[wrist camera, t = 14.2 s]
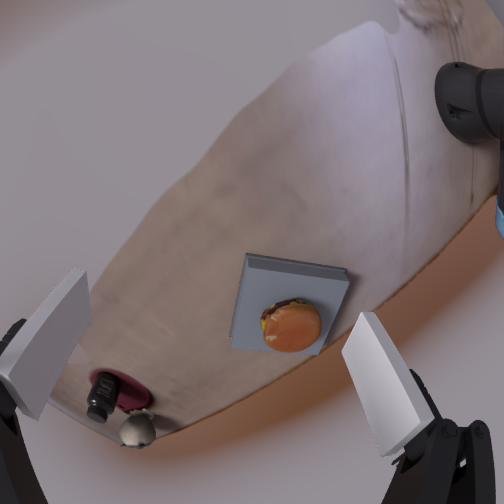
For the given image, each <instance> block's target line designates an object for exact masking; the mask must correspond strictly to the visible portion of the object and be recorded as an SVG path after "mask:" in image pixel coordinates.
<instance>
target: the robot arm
mask: <svg viewBox="0 0 504 504" xmlns="http://www.w3.org/2000/svg"><path fill="white" fill-rule="evenodd" d="M435 98H436V104H437V108H438V111H439V114H440V116H441V118H442V120H443V122H444V124H445V126H446V127H447V129H448V130H449V131H450V132H451V133H452V134H453V135H454V136H455V137H456V138H458V139H460V140H462V141H466V142H471V143H478V142H482V141H486V140H490V139H493V138H499V139H500V170H499V184H498V195H497V197H496V206H497V208H496V218H495V223H496V227H497V229H498V232H499V234H500V236H501V237H502V238H503V239H504V68H501V69H482V68H479V67H476V66H473V65H470V64H467V63H464V62H452V63H447V64H445V65H444V66H442V67H441V68H440V70H439V71H438V74H437V76H436V80H435ZM92 318H93V316H92V310H91V304H90V297H89V290H88V282H87V274H86V271H83V270H79V269H74V268H73V269H72V270H71V271H70V272H69V273H68V274H67V275H66V276H65V277H64V278H63V279H62V280H61V282H60V283H59V284H58V285H57V286H56V287H55V288H54V289H53V290H52V292H51V293H50V294H49V295H48V296H47V297H46V298H45V300H44V301H43V302H42V303H41V304H40V305H39V307H38V308H37V309H36V310H35V311H34V313H33V314H32V315H31V316H30V317H29V319H28V320H26V319H21V320H19V321H18V322H16V323H15V324H13V325H12V327H11V328H10V329H9V331H8V332H7V334H5V336H4V337H3V338H2V341H0V504H48V502H47V500H46V498H45V496H44V493H43V491H42V489H41V487H40V485H39V482H38V480H37V477H36V475H35V472H34V470H33V467H32V465H31V462H30V459H29V456H28V453H27V450H26V447H25V444H24V440H23V437H22V434H21V430H20V426H19V422H18V418H17V415H16V413H15V409H16V407H17V406H18V408H19V409H20V410H21V412H22V413H23V414H24V415H26V416H28V417H30V418H32V419H34V420H36V421H38V420H39V417H40V415H41V413H42V411H43V408H44V406H45V404H46V402H47V400H48V398H49V396H50V394H51V392H52V390H53V388H54V386H55V384H56V382H57V380H58V378H59V376H60V374H61V372H62V370H63V369H64V367H65V365H66V363H67V361H68V359H69V357H70V356H71V354H72V352H73V350H74V348H75V347H76V345H77V343H78V342H79V340H80V338H81V336H82V335H83V333H84V331H85V330H86V328H87V326H88V325H89V323H90V322H91V320H92ZM342 354H343V357H344V359H345V362H346V364H347V367H348V369H349V372H350V374H351V377H352V380H353V382H354V385H355V387H356V390H357V393H358V395H359V398H360V400H361V403H362V406H363V408H364V411H365V414H366V417H367V419H368V422H369V425H370V428H371V430H372V433H373V436H374V439H375V442H376V444H377V448H378V450H379V453H380V456H381V457H384V456H389V455H392V454H395V453H397V452H398V451H399V450H400V449H401V448H403V447H404V449H405V452H404V453H403V454H402V455H400V456H399V457H398V458H397V459H396V460H394V461H393V462H392V465H394V464H395V463H397V462H398V461H399V460H400V461H399V464H398V465H397V466H396V467H397V469H396V471H395V474H394V476H393V479H392V481H391V483H390V486H389V488H388V490H387V492H386V494H385V497H384V499H383V501H382V503H381V504H496V494H495V493H496V489H495V471H494V460H493V452H492V444H491V437H490V432H489V429H488V427H487V425H486V424H485V423H484V422H483V421H481V420H475V421H474V422H473V423H471V424H470V425H469V426H468V427H458V426H457V425H456V423H455V422H453V421H452V420H450V419H446V418H445V419H443V418H442V417H441V415H440V413H439V411H438V409H437V407H436V405H435V404H434V402H433V400H432V398H431V396H430V394H428V391H427V389H426V387H424V384H423V382H422V380H421V379H420V377H419V376H418V375H417V374H416V373H415V372H414V371H413V370H412V369H408V368H407V366H406V364H405V362H404V361H403V359H402V357H401V355H400V354H399V352H398V350H397V349H396V347H395V346H394V344H393V342H392V340H391V339H390V337H389V336H388V334H387V332H386V331H385V329H384V328H383V326H382V324H381V323H380V321H379V319H378V318H377V316H376V315H375V313H374V312H363V311H361V313H360V316H359V318H358V320H357V322H356V324H355V326H354V328H353V330H352V332H351V334H350V336H349V338H348V340H347V342H346V344H345V346H344V348H343V349H342ZM464 459H466V464H465V465H464V466H463V467H460V462H462V461H463V460H464Z"/></svg>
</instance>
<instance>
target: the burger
mask: <svg viewBox="0 0 504 504" xmlns="http://www.w3.org/2000/svg"><path fill="white" fill-rule="evenodd" d="M260 324H261V327H262V329H263V337H264V341H265V344H266V345H267V346H269V347H270V348H272V349H274V350H276V351H279V352H284V353H293V352H299V351H302V350H305V349H306V348H308V347H310V346H311V345H312V344H313V343H314V342H315V341H316V340H317V339H318V337H319V336H320V333H321V328H322V322H321V318H320V315H319V312H318V311H317V310H316V308H315V307H314V306H313V305H311V304H309V303H307V302H305V301H303V300H299V299H290V300H285V301H281V302H277V303H275V304H273V305H271V306H270V307H269V308H267V309H265V310H264V311H263V313H262V316H261V322H260Z"/></svg>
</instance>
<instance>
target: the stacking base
mask: <svg viewBox="0 0 504 504" xmlns="http://www.w3.org/2000/svg"><path fill="white" fill-rule="evenodd" d="M345 271H346V270H345V269H344V268H339V267H333V266H327V265H320V264H314V263H307V262H301V261H294V260H288V259H281V258H275V257H269V256H262V255H256V254H249V253H246V255H245V260H244V265H243V270H242V274H241V279H240V284H239V289H238V294H237V299H236V304H235V309H234V314H233V319H232V324H231V329H230V336H229V337H231V348H236V349H245V350H254V351H265V352H277V353H284V352H279V351H276V350H274V349H272V348H270V347H269V346H267V345H266V344H265V341H264V337H263V329H262V327H261V324H260V322H261V316H262V313H263V311H264V310H265V309H267V308H269V307H270V306H271V305H273V304H275V303H277V302H281V301H285V300H290V299H299V300H303V301H305V302H307V303H309V304H311V305H313V306H314V307H315V308H316V310H317V311H318V312H319V315H320V318H321V322H322V328H321V333H320V336H319V337H318V339H317V340H316V341H315V342H314V343H313V344H312V345H311V346H310V347H308V348H306V349H305V350H302V351H299V352H293V353H291V354H310V355H318V354H319V352H320V350H321V347H322V345H323V343H324V341H325V339H326V337H327V335H328V332H329V330H330V328H331V326H332V324H333V321H334V319H335V317H336V314H337V312H338V310H339V307H340V305H341V303H342V300H343V298H344V295H345V293H346V290H347V288H348V285H349V283H350V281H349V280H348V278H347V276H346V275H345Z"/></svg>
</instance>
